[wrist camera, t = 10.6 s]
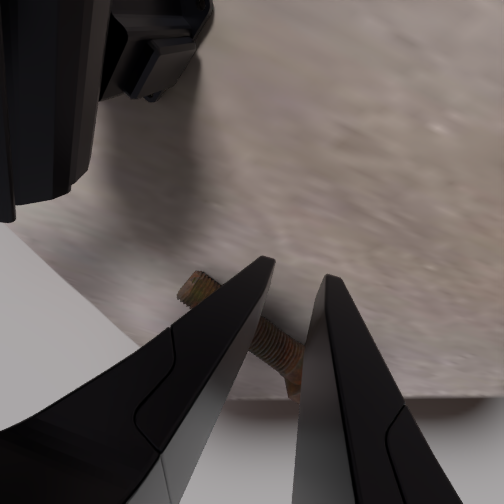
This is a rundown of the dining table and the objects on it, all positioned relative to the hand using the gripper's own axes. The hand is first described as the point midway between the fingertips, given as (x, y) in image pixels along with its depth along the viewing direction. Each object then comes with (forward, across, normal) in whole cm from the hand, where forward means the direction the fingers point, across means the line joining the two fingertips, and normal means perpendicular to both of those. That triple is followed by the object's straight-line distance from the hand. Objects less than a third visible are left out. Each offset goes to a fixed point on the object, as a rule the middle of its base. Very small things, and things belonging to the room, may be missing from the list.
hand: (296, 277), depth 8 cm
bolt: (+12, +2, +17) cm, 21 cm away
